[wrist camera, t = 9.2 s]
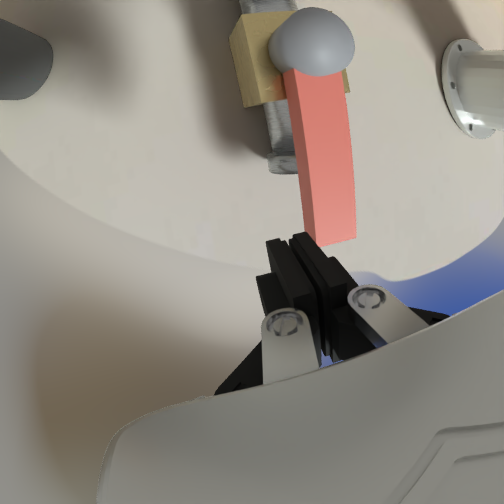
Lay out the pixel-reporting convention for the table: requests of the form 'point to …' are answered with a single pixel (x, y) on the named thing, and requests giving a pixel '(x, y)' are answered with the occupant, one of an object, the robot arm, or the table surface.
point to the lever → (319, 118)
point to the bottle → (22, 62)
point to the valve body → (266, 75)
